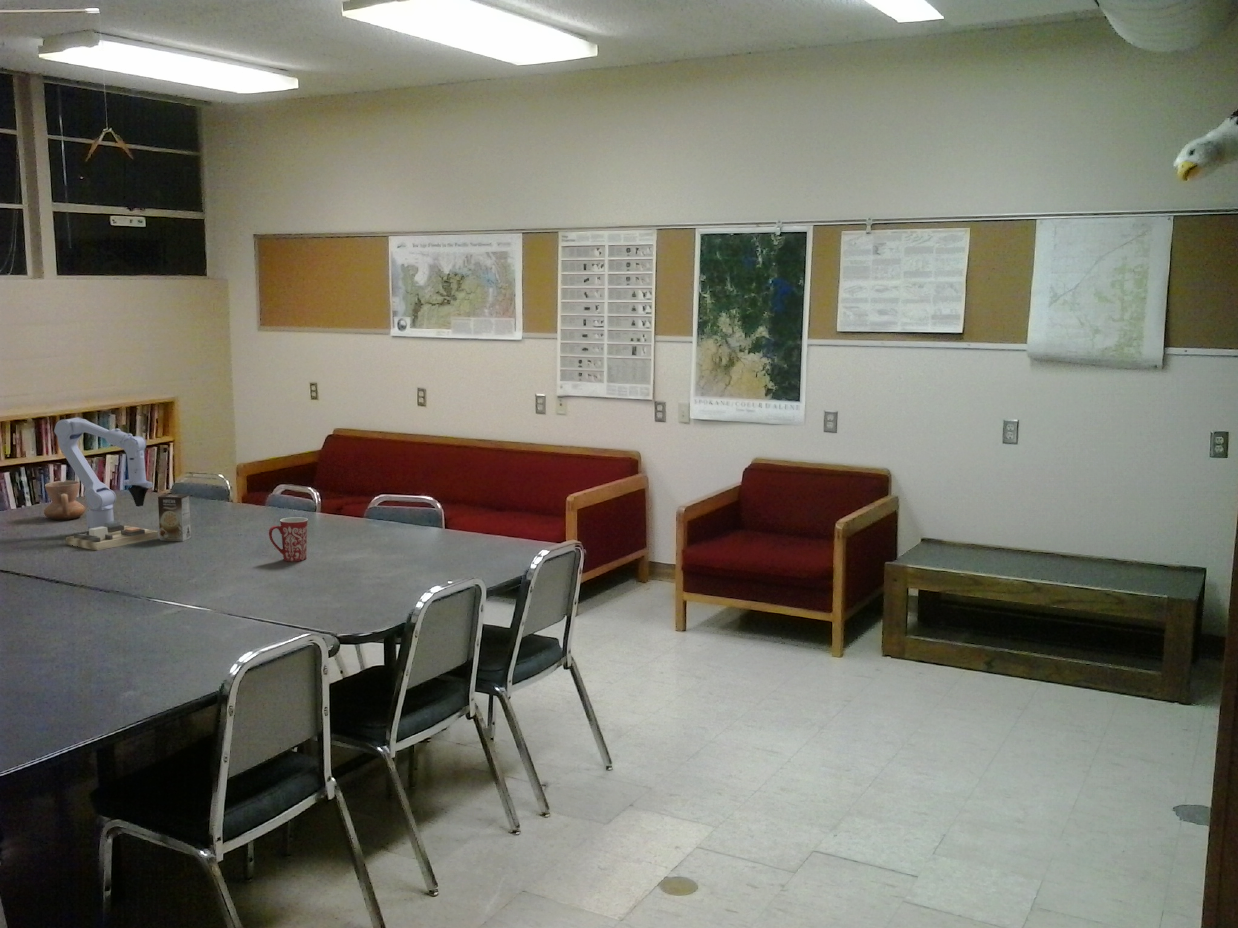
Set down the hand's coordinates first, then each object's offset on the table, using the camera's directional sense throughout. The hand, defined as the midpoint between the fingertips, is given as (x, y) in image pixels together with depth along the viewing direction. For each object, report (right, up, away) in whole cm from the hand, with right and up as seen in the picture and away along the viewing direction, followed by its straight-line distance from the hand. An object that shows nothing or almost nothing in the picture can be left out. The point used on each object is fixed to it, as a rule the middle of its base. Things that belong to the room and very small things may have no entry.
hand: (139, 505), depth 398 cm
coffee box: (+16, -12, -7) cm, 21 cm away
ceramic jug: (-42, -6, +29) cm, 52 cm away
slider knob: (-5, -11, -20) cm, 24 cm away
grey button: (-8, -7, -5) cm, 12 cm away
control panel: (-5, -12, -11) cm, 17 cm away
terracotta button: (+2, -9, -11) cm, 15 cm away
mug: (+67, -17, -38) cm, 78 cm away
